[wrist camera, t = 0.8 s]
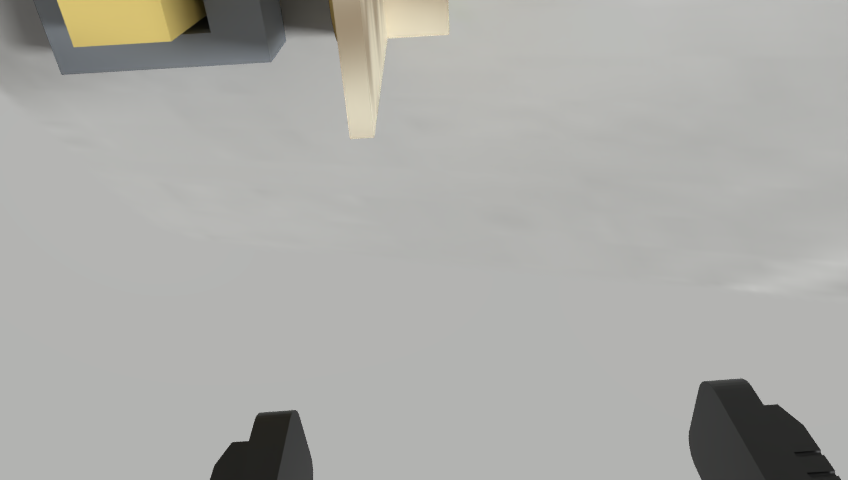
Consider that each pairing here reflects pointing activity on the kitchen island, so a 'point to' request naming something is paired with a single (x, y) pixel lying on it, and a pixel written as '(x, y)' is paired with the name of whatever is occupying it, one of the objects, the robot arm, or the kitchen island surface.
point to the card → (376, 47)
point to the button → (128, 20)
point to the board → (177, 40)
